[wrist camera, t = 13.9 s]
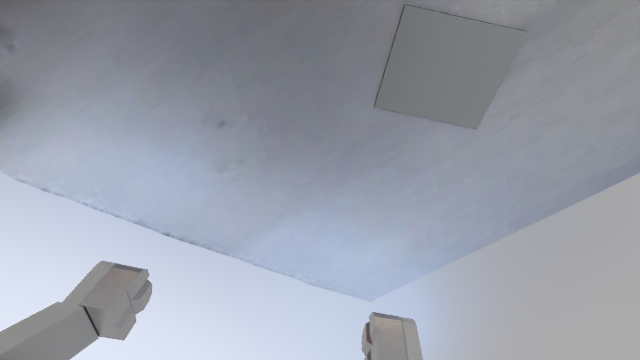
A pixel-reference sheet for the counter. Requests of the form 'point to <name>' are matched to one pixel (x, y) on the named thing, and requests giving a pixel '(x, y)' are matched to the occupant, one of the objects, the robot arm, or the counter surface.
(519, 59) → the counter surface
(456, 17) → the mat
